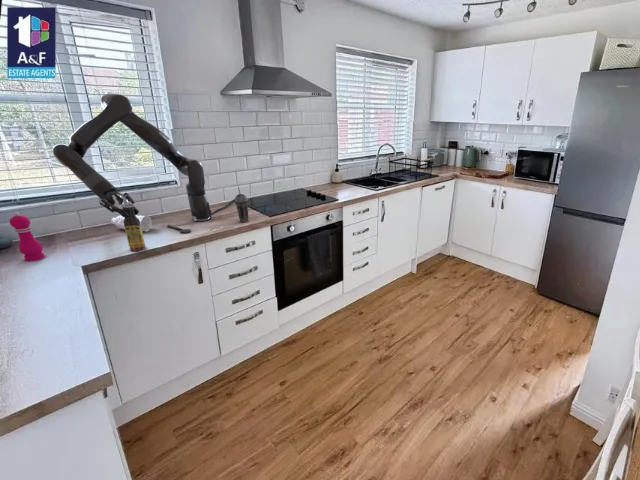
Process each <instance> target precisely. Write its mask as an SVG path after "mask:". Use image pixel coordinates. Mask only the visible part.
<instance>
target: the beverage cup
mask: <svg viewBox="0 0 640 480" xmlns="http://www.w3.org/2000/svg"><path fill="white" fill-rule="evenodd" d="M237 189H238V194H237V195H235V198H234V199H235V201H234V204H235V206H236V210H237V211H236V212H237V215H238V218H239V222H240V223H247V222H249V200H248V197H247V196H246V195H245V194H243V193H241V191H240V190H241V189H240V186H237Z"/></svg>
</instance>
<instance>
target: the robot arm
mask: <svg viewBox="0 0 640 480" xmlns="http://www.w3.org/2000/svg"><path fill="white" fill-rule="evenodd" d="M100 104H101V105H100V106H101V107H102V108H103V109H102V110H101V112H99V113H98V114H97V115H95V116H94V117H93V118H91V119H89V120H88V121H86V122H85V123H83V124H82V125H80V126H79V127H78V128H77V129H76V130H75V131H74V132H73V133H72V134H71V135H70V136H69V143H68V144H65V143H57V144H55V145H54V146H53V148H52V154H53V156H54V157H55V159H56V160H57V161H58V162H59V164H61V165H62V166H64V167H67V169H69V170H70V171H71V172H72V174H73V175H75V177H76V178H77V179H79V180H80V181H81V182H82V183H83V184H84V185H85V186H86V187H87V188H88V189H89V190H90V191H91V192H92V193H93V194H95V196H97V197H98V198H99V199H100V200H99V205H100V206H102V207H104V208H105V209H106V210H107V211H109V212H111V213H118V214H119V216H123V217H124V218H128V216H129V214H127V213H126V212H125V211H124V210H123V208H122V207H123V206H128V205H131V206H134V205H135V203H136V202H135V200H134V199H133V198H132V197H131V196H130V194H129V193H127V192H124V193H120V192H119V191H117V190H118V189H117V188H116V186H114V185H113V184H112V183H111V182H110V181H109V180H108V179H107V178H105V177H104V176H103V175H102V174H100V173H99V172H98V171H97V170H96V169H94V167H92V166H91V165H90V164H88V163H87V162H86V161H85V160H84V157H85V155H86V153H87V151H88V150H89V149H90V148H91V147H92V146H93V145H94V144H95V143H96V142H97V141H98V140H99V139H100V138H101V137H102V136H103V135H104V134H105V133H106V132H107V131H109V130H110V129H111V128H112V127H113V126H115V125H116V124H117V123H119V122H120V123H121V124H123V125H124V126H126V127H127V128H128V129H130V131H132V133H134V134H135V135H136V136H137V137H139V138H140V139H141V140H142V141H143V142H144V143H145V144H146V145H148V146H149V147H150V148H152V150H154V151H155V152H157V153H158V154H159V155H160V156H162V157H164V158H165V159H166V160H167V161H168V162H170V163H171V165H172V166H174V167H175V168H176V170H178V172H179V173H181V174H182V175H184V176H186V177H187V179H188V183H186V184H185V190H186V195H187V200H188V204H189V209H190V213H191V220H192V222H206V221H209V220H211V219H212V215H213V214H216V213H218V212H219V211H221V210H224V209H225V208H227V207H229V206H230V205H231V204H232V203H233V202H235V198H234V199H232V200H230V201H229V203H227V204H226V205H224V206H223V207H220V208H218V209H215V210H214V211H213V212H212V210H211V207H210V202H209V201H208V199H207V193H206V188H205V184H206V180H205V171H204V167H203V165H202V162H200V161H199V160H197V159H192V158H188V157H187V156H185V155H184V154H183V153H181V152H180V151H178V149H177V148H176V146H175V145H174V143H173V141H171V139H170V138H169V137H168V136H167V135H166V134H165V133H164V132H163V131H162V130H161V129H160V128H158V127H156V126H155V125H153V124H152V123H150V122H149V121H148V120H146V119H144V118H142V117H140V116H138V115H137V114H136V113H135V112H134V111H133V103H132V102H131V100H130V99H129V98H128V97H126V96H125V95H122V94H120V93H106V94H103V95H102V96H101V98H100ZM121 206H122V207H121ZM134 212H135V215H138V214H140V211H139V209H138V208H137V207H135V206H134Z"/></svg>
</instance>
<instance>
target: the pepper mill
mask: <svg viewBox="0 0 640 480" xmlns="http://www.w3.org/2000/svg"><path fill="white" fill-rule="evenodd" d="M9 224H10V226H11V227H13V228H14V229H13V230H14V231H15V233H17V235H18V238H19V243H18V250H19V252H20V253H21V254H22V255H24V256H23V257H24V260H25V261H27V262H36V261H40V260H43V259H45V258H46V256H45V253H44V252H43V250H44V247H43V245H42V244H41V242H39V241H38V240H37V239H36V238H35V237H34V236H33V233H32V231H33V230H32V227H31V226H30V225H31V220H30V219H29V218H28V217H27V216H25V215H21V214H20V212H18V211H15V212H13V216H12V217H10V218H9Z"/></svg>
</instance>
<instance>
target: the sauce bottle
mask: <svg viewBox="0 0 640 480" xmlns="http://www.w3.org/2000/svg"><path fill="white" fill-rule="evenodd" d="M127 205H128V206H122V209H123V210H124V211H125V212H126V213H127V214H129V216H128V218H125V219H124V226H125V230H124V231H125V235H126V239H127V244H128V247H129V250H130V251H131V252H140V251H144V250H145V249H146V243H145V242H146V241H145V237H144V234H143V233H144V232H143V231H142V229H141V225H140V221H139V219H138V218H137V217H136V216H135V212H134V207H135V206H134V205H133V206H131V205H129V204H127Z"/></svg>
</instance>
